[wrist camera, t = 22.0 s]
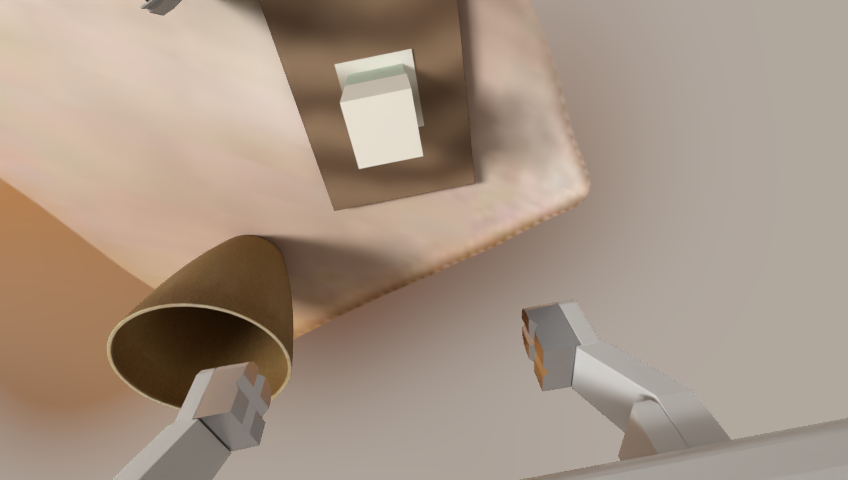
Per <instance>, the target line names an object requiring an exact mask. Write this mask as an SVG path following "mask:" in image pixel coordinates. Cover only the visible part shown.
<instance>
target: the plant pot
mask: <svg viewBox="0 0 848 480" xmlns="http://www.w3.org/2000/svg"><path fill="white" fill-rule="evenodd" d="M107 355H108V359H109V362H110V365H111V366H112V368H113V370H114V371H115V373H116V374H117V375H118V376H119V377H120V378H121V379H122V380H123V381H124V382H125V383H126V384H127V385H129V386H130V387H131V388H132V389H133V390H135V391H136V392H138V393H140V394H141V395H143V396H145V397H147V398H148V399H150V400H153V401H155V402H158V403H160V404H163V405H166V406H169V407H172V408H175V409H178V410H181V408H182V405H183V403H184V401H185V399H186V397H187V395H188V392H189V390H190V388H191V386H192V384H193V382H194V379H195V377H196V375H197V374H198V373H199V372H200V371H201V370H206V369H212V368H217V367H222V366H228V365H234V364H240V363H246V362H255V363H256V365H257V366H258V367H259V371H258V374H259V375H262V376H264V377H266V379H267V380H268V382H269V385H270V388H271V400H272V399H274V398H275V397H276V396H278V395H279V394H280V393H281V392H282V391H283V390H284V388H285V387H286V386H287V384H288V382H289V380H290V376H291V372H292V358H293V308H292V297H291V289H290V283H289V278H288V273H287V269H286V266H285V262H284V259H283V256H282V254H281V252H280V251H279V249H278V248H277V247H276V246H275V245H274V244H272V243H271V242H269V241H268V240H266V239H263V238H261V237H258V236H252V235H242V236H237V237H234V238H232V239H229V240H227V241H225V242H224V243H222V244H220V245H218V246H216V247H214V248H212V249H211V250H209V251H207V252H206V253H204V254H202V255H201V256H199V257H198V258H196V259H195V260H193V261H192V262H190V263H189V264H187V265H186V266H184V267H183V268H182V269H180V270H179V271H178V272H176V273H175V274H174V275H172V276H171V277H170V278H169V279H167V280H166V281H165V282H164V283H162V284H161V285H160V286H159V287H158V288H156V289H155V290H154V291H153V292H152V293H151V294H150V295H149V296H148V297H147V298H145V299H144V300H143V301H142V302H141V303H140V304H139V305H138V306H137V307H136V308H135V309H133V310H132V311H131V312H130V313H129V314H128V315H127V316H126V317H125V318H124V319H123V320H122V321H121V322H120V323H119V324H118V325H117V326H116V327H115V328H114V329H113V331H112V332H111V334H110V336H109V338H108V343H107Z"/></svg>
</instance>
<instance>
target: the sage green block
mask: <svg viewBox="0 0 848 480" xmlns="http://www.w3.org/2000/svg"><path fill="white" fill-rule="evenodd" d="M401 74H405V71H404V68H403V65H402V64H397V65H392V66H387V67H382V68H377V69H372V70H367V71H362V72H357V73H352V74H348V76H347V79H346V83H345V86H347V85H352V84H357V83H362V82H366V81H371V80H376V79H381V78H386V77H391V76H396V75H401ZM345 86H344V87H345Z"/></svg>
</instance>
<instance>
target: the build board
mask: <svg viewBox="0 0 848 480" xmlns="http://www.w3.org/2000/svg"><path fill="white" fill-rule="evenodd" d="M259 1H260V4H261V7H262V10H263V13H264V15H265V18H266V21H267V24H268V27H269V29H270V32H271V35H272V38H273V41H274V43H275V46H276V49H277V52H278V55H279V57H280V60H281V63H282V66H283V69H284V71H285V74H286V77H287V80H288V83H289V85H290V88H291V91H292V94H293V96H294V99H295V102H296V105H297V108H298V110H299V113H300V116H301V119H302V122H303V124H304V127H305V130H306V133H307V136H308V138H309V141H310V144H311V147H312V150H313V152H314V155H315V158H316V161H317V164H318V166H319V169H320V172H321V175H322V178H323V180H324V183H325V186H326V189H327V192H328V194H329V197H330V200H331V203H332V206H333V208H334V211H336V210H341V209H346V208H351V207H356V206H361V205H366V204H371V203H376V202H381V201H386V200H391V199H397V198H402V197H407V196H412V195H417V194H422V193H427V192H432V191H437V190H442V189H447V188H452V187H457V186H462V185H467V184H472V183H475V181H474V170H473V160H472V149H471V139H470V129H469V118H468V108H467V97H466V87H465V77H464V66H463V56H462V45H461V35H460V25H459V14H458V4H457V0H259ZM397 64H402V65H403V68H404V71H405V74H406V73H407V77H408V80H409V83H410V86H411V90H412V96H413V101H414V107H415V113H416V118H417V124H418V129H419V135H420V141H421V146H422V152H423V156H422V157H417V158H412V159H407V160H402V161H397V162H392V163H387V164H382V165H377V166H372V167H367V168H362V169H359V167H358V164H357V160H356V157H355V154H354V150H353V147H352V143H351V140H350V136H349V133H348V130H347V126H346V123H345V119H344V116H343V112H342V109H341V105H340V100H341V97H342V94H343V90H344V86H345V83H346V79H347V76H348V74H352V73H357V72H362V71H367V70H372V69H377V68H382V67H387V66H392V65H397Z"/></svg>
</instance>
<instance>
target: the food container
mask: <svg viewBox="0 0 848 480" xmlns="http://www.w3.org/2000/svg"><path fill="white" fill-rule="evenodd" d="M146 1H147V3H146V4H144V5H143V6H141V7H140V8H141V9H148V11H149V12H150V13H154V14H158V15H165V14H166V13H168V12H169V11H171V10H172V9H174V8H175V7H176V6H177V5H178V4H179V3H180V2H181V1H182V0H146Z"/></svg>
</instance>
